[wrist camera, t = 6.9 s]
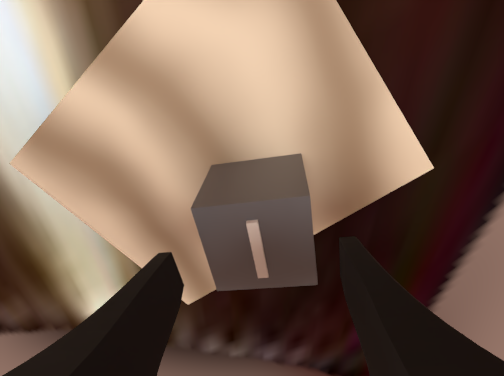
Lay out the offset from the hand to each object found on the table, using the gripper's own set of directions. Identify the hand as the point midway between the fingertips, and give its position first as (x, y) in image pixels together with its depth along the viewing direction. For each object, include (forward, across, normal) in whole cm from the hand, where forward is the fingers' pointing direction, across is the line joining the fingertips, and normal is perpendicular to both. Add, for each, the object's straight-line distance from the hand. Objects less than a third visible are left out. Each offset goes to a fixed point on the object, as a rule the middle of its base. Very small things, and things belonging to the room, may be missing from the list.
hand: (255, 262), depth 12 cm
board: (+7, +2, -2) cm, 8 cm away
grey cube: (+5, 0, 0) cm, 5 cm away
